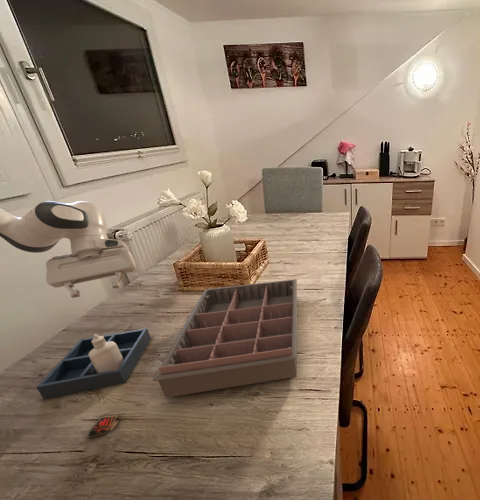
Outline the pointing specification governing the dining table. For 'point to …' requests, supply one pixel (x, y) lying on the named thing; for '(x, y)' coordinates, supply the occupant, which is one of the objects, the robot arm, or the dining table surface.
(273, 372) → the organizer tray
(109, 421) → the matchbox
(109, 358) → the eye dropper bottle
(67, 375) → the grid
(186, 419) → the dining table surface
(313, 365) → the dining table surface
